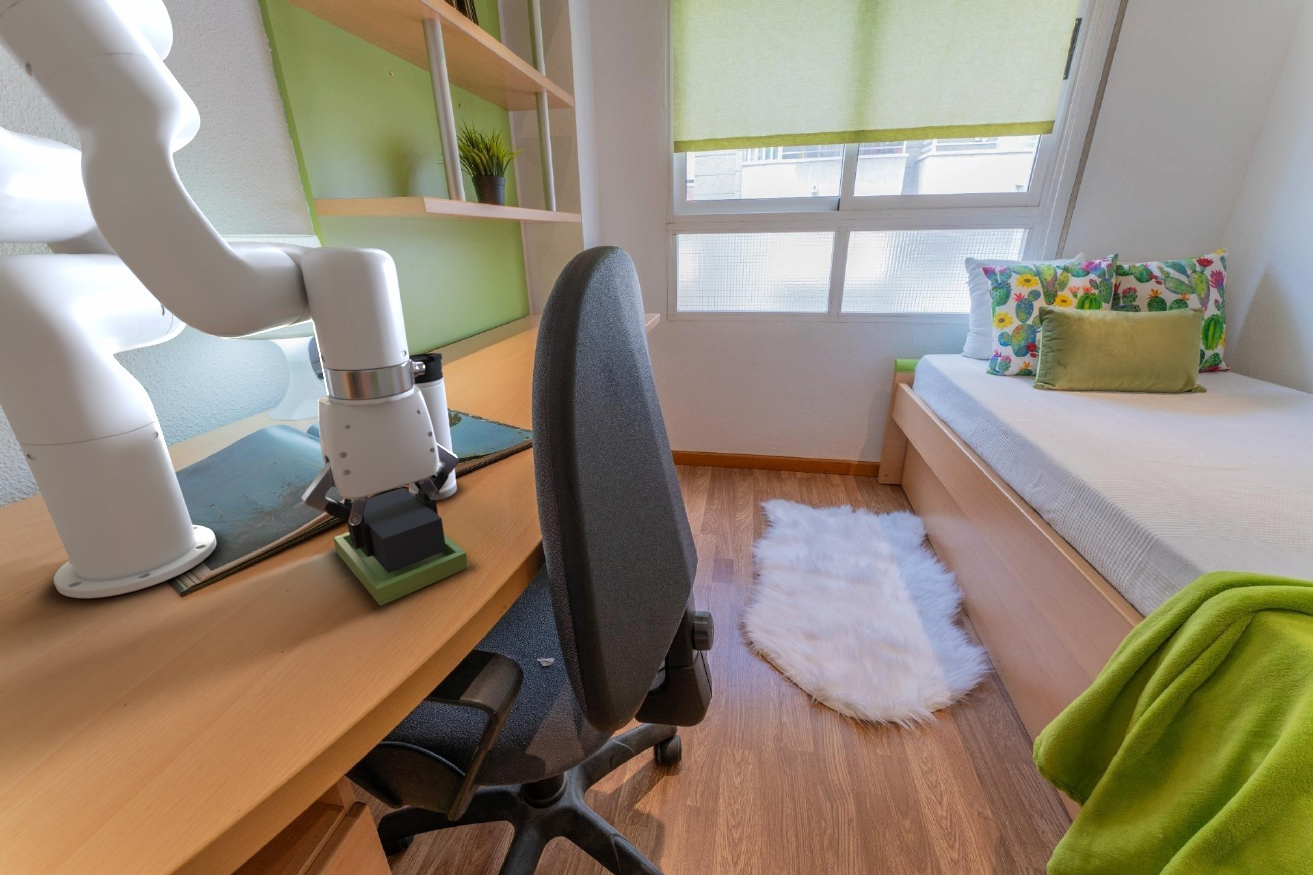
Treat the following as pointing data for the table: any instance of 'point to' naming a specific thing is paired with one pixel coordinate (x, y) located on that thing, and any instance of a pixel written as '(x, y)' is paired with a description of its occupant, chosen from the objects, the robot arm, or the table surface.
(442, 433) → the travel mug
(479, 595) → the table surface
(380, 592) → the frame
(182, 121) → the robot arm
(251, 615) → the table surface
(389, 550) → the dark gray block
